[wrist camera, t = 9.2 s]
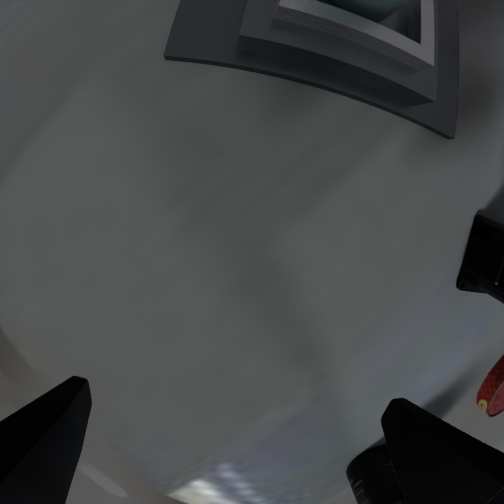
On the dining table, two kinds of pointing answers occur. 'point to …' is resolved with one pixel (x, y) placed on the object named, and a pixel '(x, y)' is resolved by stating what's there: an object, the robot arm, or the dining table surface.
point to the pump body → (372, 7)
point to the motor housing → (334, 50)
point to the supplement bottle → (374, 478)
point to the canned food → (492, 391)
